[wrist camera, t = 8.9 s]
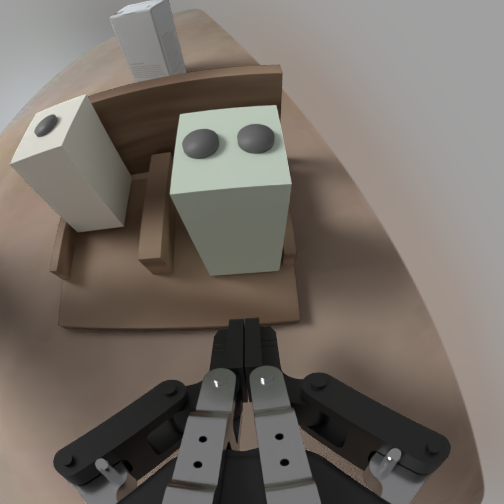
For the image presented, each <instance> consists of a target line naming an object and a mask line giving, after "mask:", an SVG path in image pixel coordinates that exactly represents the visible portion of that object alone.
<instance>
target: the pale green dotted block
mask: <svg viewBox="0 0 504 504" xmlns="http://www.w3.org/2000/svg"><path fill="white" fill-rule="evenodd" d="M291 186H292V183H291V177H290V172H289V166H288V161H287V155H286V150H285V145H284V140H283V135H282V130H281V125H280V120H279V115H278V110H277V106H276V105H270V106H252V107H238V108H227V109H217V110H208V111H200V112H193V113H186V114H180V117H179V124H178V130H177V137H176V145H175V152H174V160H173V169H172V178H171V187H170V196H171V198H172V200H173V202H174V204H175V206H176V209H177V211H178V213H179V215H180V217H181V219H182V221H183V223H184V225H185V227H186V229H187V231H188V233H189V235H190V237H191V239H192V241H193V243H194V245H195V247H196V249H197V251H198V253H199V255H200V257H201V259H202V261H203V263H204V265H205V267H206V269H207V271H208V272H209V274H210V276H216V275H230V274H244V273H257V272H270V271H279V269H280V263H281V256H282V249H283V243H284V236H285V229H286V222H287V215H288V208H289V201H290V193H291Z"/></svg>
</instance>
